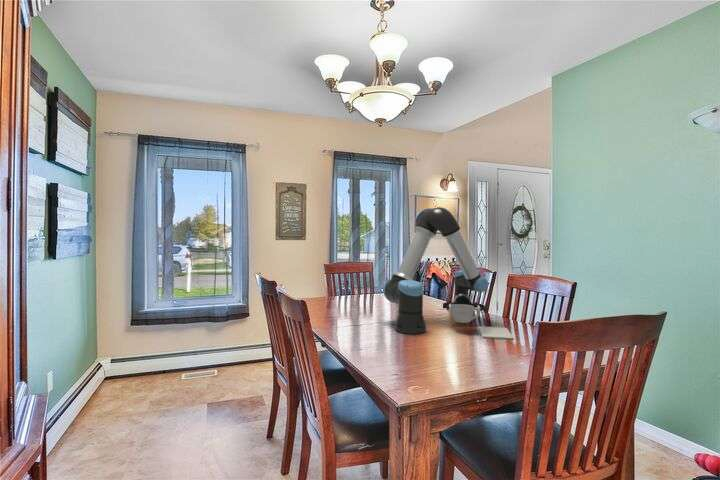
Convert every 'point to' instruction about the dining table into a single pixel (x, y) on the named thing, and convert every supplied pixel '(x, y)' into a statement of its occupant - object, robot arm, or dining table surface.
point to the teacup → (463, 312)
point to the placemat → (495, 332)
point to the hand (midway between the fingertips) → (464, 309)
